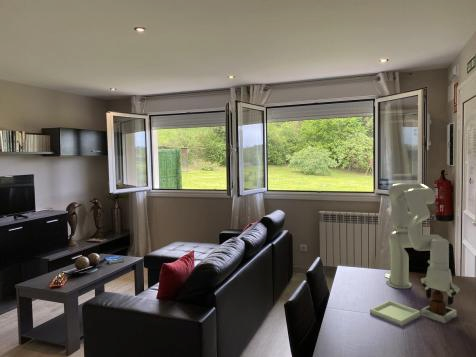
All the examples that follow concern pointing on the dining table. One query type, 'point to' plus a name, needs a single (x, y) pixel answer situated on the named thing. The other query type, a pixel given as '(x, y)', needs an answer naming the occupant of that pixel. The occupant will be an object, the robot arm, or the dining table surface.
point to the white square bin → (441, 318)
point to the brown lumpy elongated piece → (437, 303)
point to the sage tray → (395, 313)
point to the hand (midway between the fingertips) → (439, 300)
